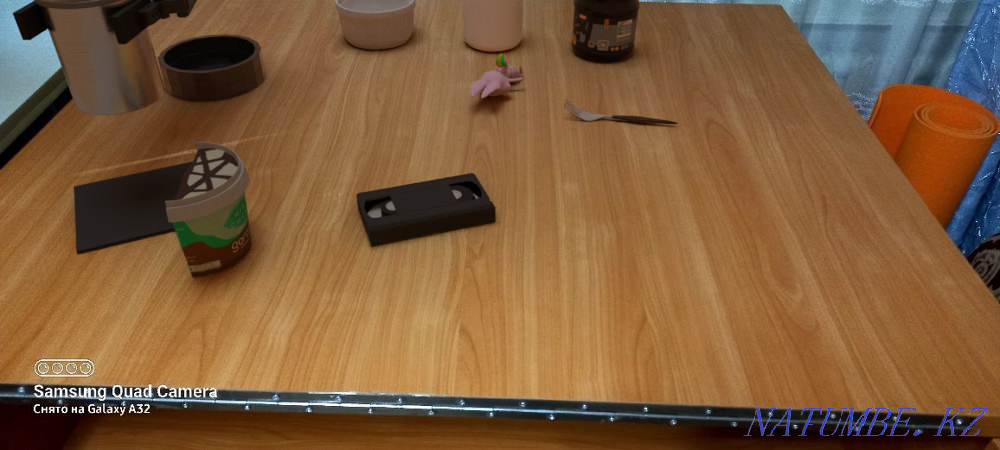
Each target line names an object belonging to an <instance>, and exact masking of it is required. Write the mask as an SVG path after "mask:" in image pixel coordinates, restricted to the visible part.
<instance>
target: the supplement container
mask: <svg viewBox="0 0 1000 450" xmlns="http://www.w3.org/2000/svg"><path fill="white" fill-rule="evenodd" d="M640 6H641V2H640V0H573V7H574V8H573V19H572V33H571V34H572V36H571V42H570V45H571V48H572V50H573V52H574V53H575V54H576V55H578V56H579V57H580V58H583V59H586V60H588V61H593V62H601V63H609V62H610V63H611V62H617V61H621V60H624V59H627V58H628V57H630V56H631V55H632V54H633V52H634V50H635V47H636V46H635V45H636V44H635V42H636V32H637V24H638V15H639V9H640Z"/></svg>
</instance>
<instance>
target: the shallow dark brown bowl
mask: <svg viewBox="0 0 1000 450" xmlns="http://www.w3.org/2000/svg"><path fill="white" fill-rule="evenodd" d="M157 63H158V66H159V70H160V74H161V77H162V81H163V84H164V88H165V90H166V93H168V94H169V95H170V96H171V97H173V98H176V99H179V100H182V101H188V102H197V103H202V102H203V103H204V102H218V101H224V100H228V99H229V100H230V99H233V98H237V97H240V96H242V95H246V94H248V93H251V92H252V91H254V90H255V89H257V88H258V87H260V86H261V85H262V84H263V83H264V82H265V79H266V75H267V73H266V68H265V67H266V66H265V63H264V56H263V51H262V47H261V45H260V44H259V42H258V41H257V40H255V39H254V38H251V37H248V36H244V35H240V34H227V33H222V34H221V33H219V34H207V35H201V36H195V37H191V38H187V39H183V40H179V41H177V42H175V43H173V44H171V45H169V46H167V47H166V48H165V49H162V51H160V53H159V55H158V56H157Z"/></svg>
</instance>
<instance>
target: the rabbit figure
mask: <svg viewBox="0 0 1000 450" xmlns="http://www.w3.org/2000/svg"><path fill="white" fill-rule="evenodd" d="M495 66H497V68H496V70H489V71H484V72H483V74H482V75H481V77H480V79H478V80H475V81H473V82H471V83H470V85H469V95H470V97H472V98H474V97H475V96H477V95H478V94H479V93H480V92H482V93H481V96H480V99H485V98H487V97H488V96H489V97H492V98H495V97H498V96H501V95H505V94H507V93H508V92H510V91H511V90H512V85H511V83H512V84H513V83H517V82H523V80H524V78H523V77H522V75H524V72H523V68H522V63H521V65H518V66H517V67H515V66H513V65H508V61H506V60H505V55H504V53H499V54H498V55H497V57H496V60H495Z"/></svg>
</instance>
